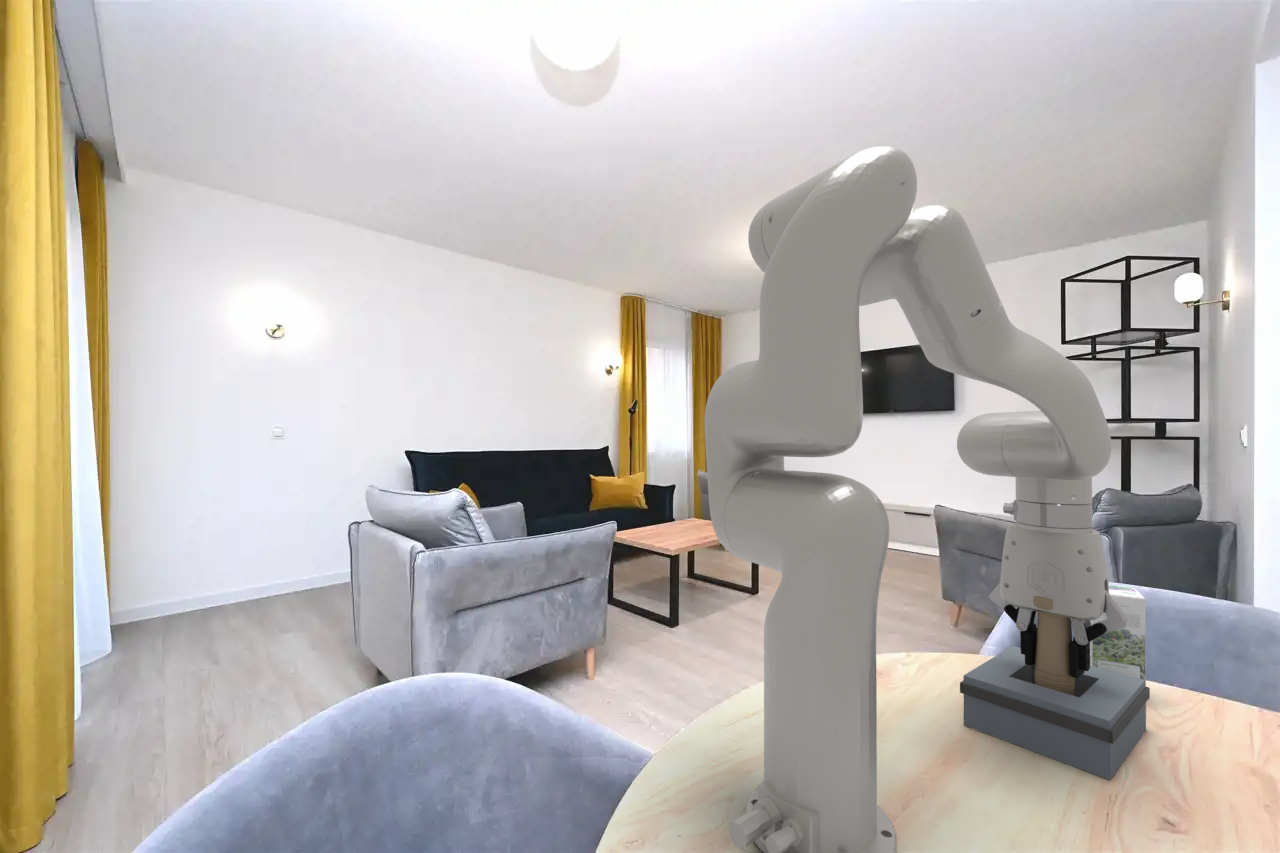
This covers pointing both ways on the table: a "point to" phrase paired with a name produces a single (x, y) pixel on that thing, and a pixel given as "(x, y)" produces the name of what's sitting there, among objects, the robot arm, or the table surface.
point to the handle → (1053, 649)
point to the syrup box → (1123, 636)
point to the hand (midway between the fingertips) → (1054, 666)
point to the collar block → (1058, 712)
